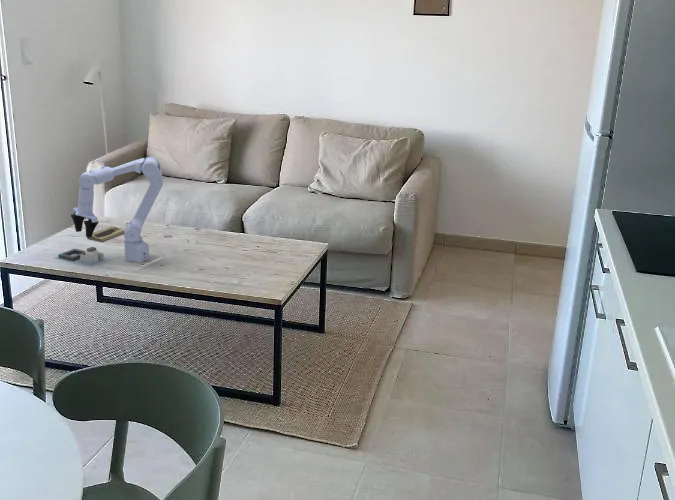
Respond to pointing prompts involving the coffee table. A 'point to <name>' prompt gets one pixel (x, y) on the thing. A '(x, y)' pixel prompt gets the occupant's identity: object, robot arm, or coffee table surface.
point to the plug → (92, 253)
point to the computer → (106, 234)
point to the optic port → (67, 254)
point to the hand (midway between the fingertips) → (83, 234)
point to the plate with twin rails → (90, 258)
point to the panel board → (85, 263)
